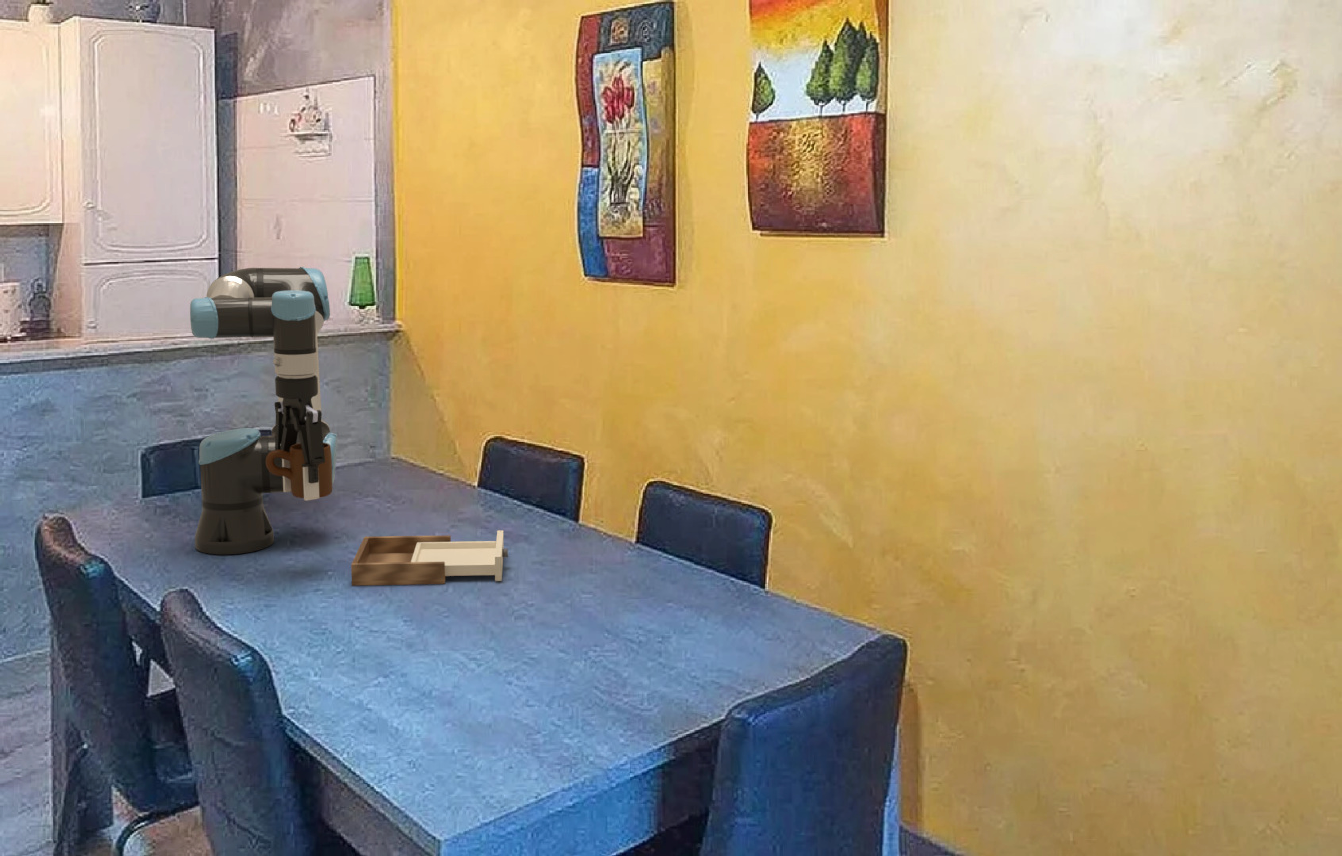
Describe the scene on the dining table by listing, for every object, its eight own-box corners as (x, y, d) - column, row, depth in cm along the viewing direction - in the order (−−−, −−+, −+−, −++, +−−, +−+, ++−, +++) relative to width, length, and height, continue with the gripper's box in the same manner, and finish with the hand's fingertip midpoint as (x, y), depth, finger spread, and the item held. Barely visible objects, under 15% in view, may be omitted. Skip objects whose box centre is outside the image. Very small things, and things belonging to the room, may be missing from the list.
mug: (270, 503, 221) (268, 453, 219) (263, 493, 228) (261, 445, 226) (336, 496, 227) (335, 448, 225) (328, 487, 233) (326, 440, 231)
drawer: (409, 582, 223) (408, 558, 222) (417, 554, 240) (417, 531, 239) (506, 580, 225) (506, 556, 224) (508, 552, 242) (508, 530, 241)
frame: (351, 585, 222) (351, 564, 221) (365, 555, 239) (364, 536, 239) (444, 583, 224) (444, 563, 223) (450, 554, 241) (450, 535, 241)
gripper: (251, 370, 226) (257, 487, 231) (304, 384, 212) (309, 509, 217) (289, 366, 232) (294, 481, 236) (342, 380, 217) (346, 502, 222)
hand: (301, 494), depth 226 cm, fingers closed on mug, 7 cm apart
